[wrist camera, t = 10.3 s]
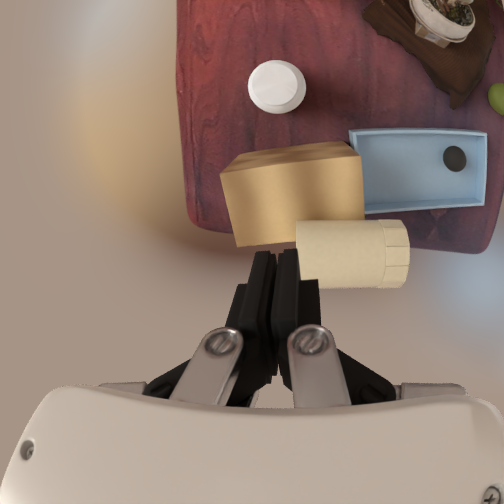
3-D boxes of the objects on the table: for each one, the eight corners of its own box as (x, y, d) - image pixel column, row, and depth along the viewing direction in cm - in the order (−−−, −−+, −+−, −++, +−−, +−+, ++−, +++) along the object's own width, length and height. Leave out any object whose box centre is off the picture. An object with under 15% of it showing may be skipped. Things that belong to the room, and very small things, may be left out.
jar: (296, 297, 30) (392, 295, 29) (296, 273, 24) (414, 271, 22) (296, 240, 33) (385, 239, 32) (295, 206, 27) (401, 206, 25)
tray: (355, 207, 41) (359, 214, 39) (348, 129, 35) (352, 131, 33) (475, 199, 36) (483, 205, 33) (477, 130, 30) (486, 133, 28)
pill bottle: (301, 115, 35) (304, 119, 26) (255, 109, 36) (239, 112, 26) (306, 71, 32) (310, 59, 22) (259, 66, 33) (245, 53, 23)
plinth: (252, 209, 44) (237, 247, 34) (240, 153, 40) (219, 173, 29) (348, 199, 41) (365, 234, 30) (342, 140, 36) (361, 155, 26)
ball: (472, 160, 31) (453, 167, 35) (460, 138, 30) (441, 146, 34) (468, 173, 30) (448, 179, 33) (456, 149, 29) (435, 157, 33)
